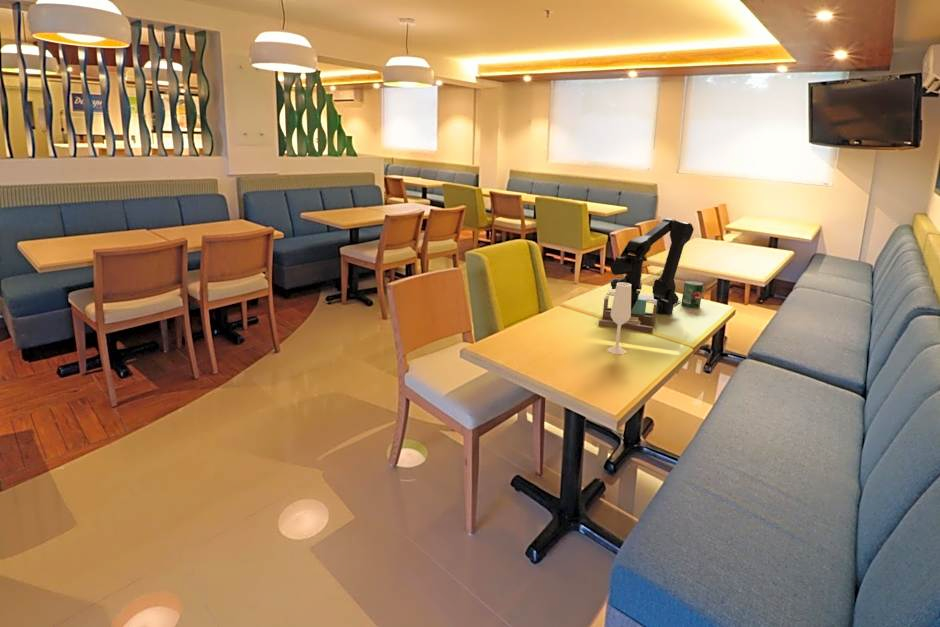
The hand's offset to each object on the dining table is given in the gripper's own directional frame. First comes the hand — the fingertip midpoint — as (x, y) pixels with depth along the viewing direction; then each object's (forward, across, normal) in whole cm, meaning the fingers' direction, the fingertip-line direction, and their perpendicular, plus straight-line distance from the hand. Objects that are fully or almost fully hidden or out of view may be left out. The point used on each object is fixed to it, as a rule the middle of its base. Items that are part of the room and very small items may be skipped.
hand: (629, 310), depth 217 cm
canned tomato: (+5, -36, +24) cm, 43 cm away
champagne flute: (+5, +35, 0) cm, 35 cm away
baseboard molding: (+6, -39, +3) cm, 40 cm away
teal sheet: (+4, 0, 0) cm, 4 cm away
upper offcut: (+2, +9, 0) cm, 9 cm away
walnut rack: (+5, +4, 0) cm, 6 cm away
